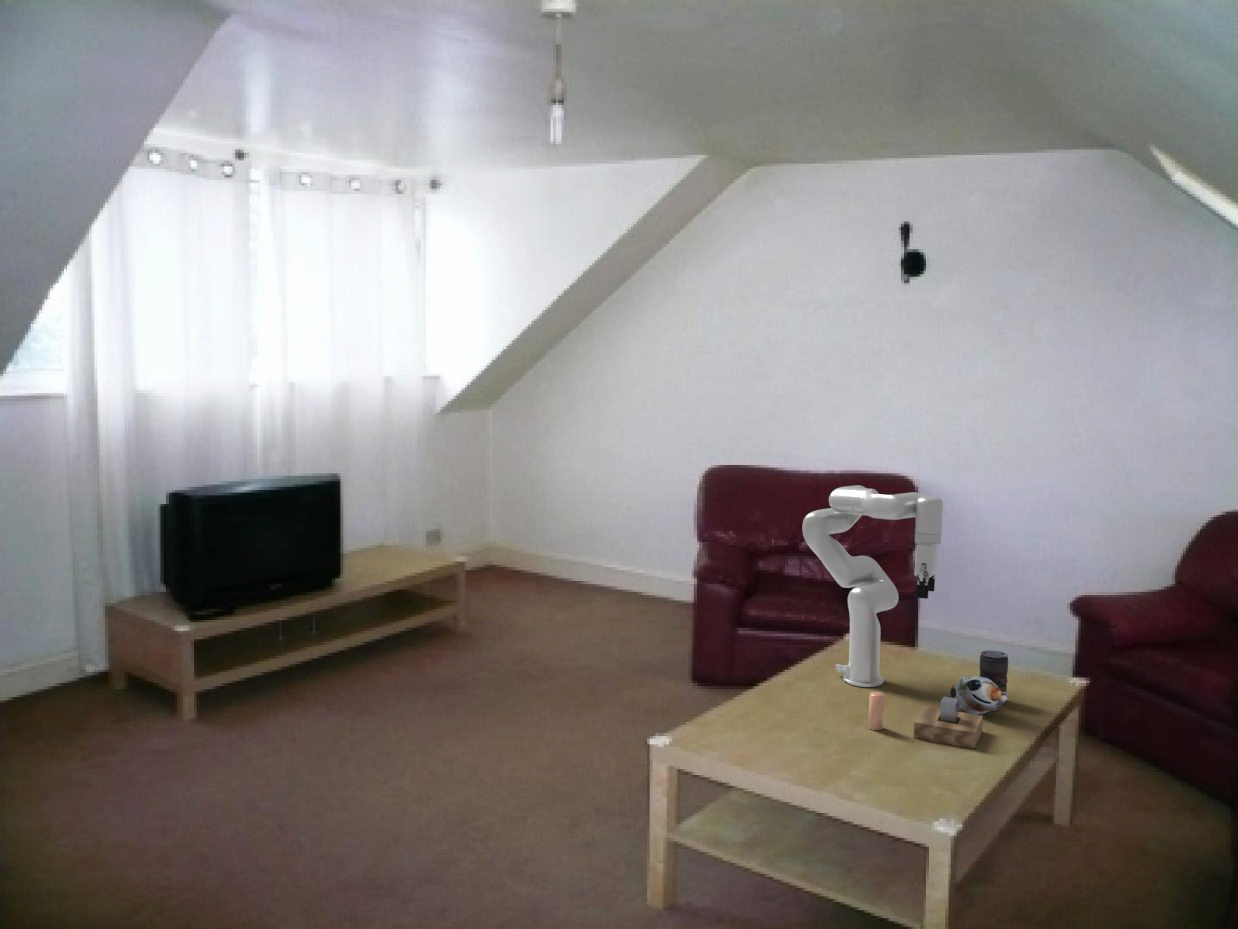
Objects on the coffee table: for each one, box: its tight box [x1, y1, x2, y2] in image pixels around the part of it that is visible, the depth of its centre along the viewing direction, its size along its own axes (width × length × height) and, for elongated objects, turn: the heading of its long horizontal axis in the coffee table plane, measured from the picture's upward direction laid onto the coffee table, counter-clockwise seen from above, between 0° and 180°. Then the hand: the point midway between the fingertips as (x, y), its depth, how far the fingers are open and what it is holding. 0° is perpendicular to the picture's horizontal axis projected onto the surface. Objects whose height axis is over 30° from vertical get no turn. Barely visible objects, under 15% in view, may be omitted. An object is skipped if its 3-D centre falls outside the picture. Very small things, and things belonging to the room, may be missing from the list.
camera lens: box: [979, 649, 1009, 693], centre depth 312 cm, size 8×8×15 cm
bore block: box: [913, 705, 984, 749], centre depth 286 cm, size 16×14×4 cm
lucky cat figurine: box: [949, 675, 1009, 715], centre depth 303 cm, size 15×12×14 cm
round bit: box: [867, 691, 885, 731], centre depth 290 cm, size 4×4×10 cm
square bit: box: [939, 696, 959, 724], centre depth 286 cm, size 4×4×10 cm
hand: (925, 594), depth 308 cm, fingers open, 9 cm apart
